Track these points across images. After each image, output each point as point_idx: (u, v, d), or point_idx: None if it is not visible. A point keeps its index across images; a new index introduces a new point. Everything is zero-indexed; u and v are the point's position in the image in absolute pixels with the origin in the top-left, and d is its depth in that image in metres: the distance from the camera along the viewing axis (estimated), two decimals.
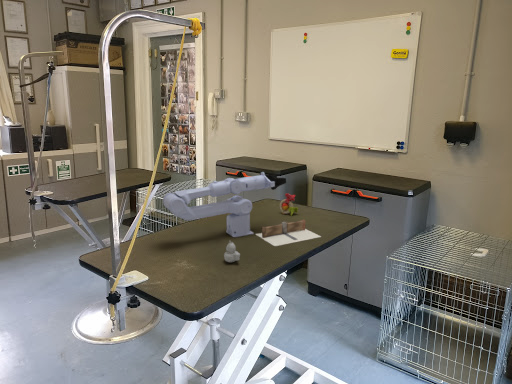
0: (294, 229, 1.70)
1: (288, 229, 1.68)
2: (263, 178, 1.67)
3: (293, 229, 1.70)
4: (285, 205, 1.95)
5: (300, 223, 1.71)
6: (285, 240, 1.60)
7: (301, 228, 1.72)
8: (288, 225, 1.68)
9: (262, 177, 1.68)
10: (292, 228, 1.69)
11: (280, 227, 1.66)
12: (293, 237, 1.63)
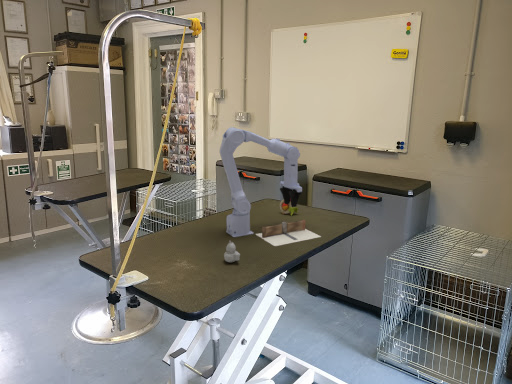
0: (294, 229, 1.70)
1: (288, 229, 1.68)
2: (297, 183, 1.70)
3: (293, 229, 1.70)
4: (285, 205, 1.95)
5: (300, 223, 1.71)
6: (285, 240, 1.60)
7: (301, 228, 1.72)
8: (288, 225, 1.68)
9: None
10: (292, 228, 1.69)
11: (280, 227, 1.66)
12: (293, 237, 1.63)
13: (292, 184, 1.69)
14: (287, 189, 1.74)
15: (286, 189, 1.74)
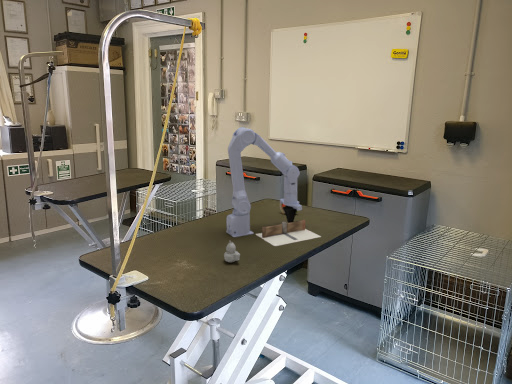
0: (294, 229, 1.70)
1: (288, 229, 1.68)
2: (296, 201, 1.72)
3: (293, 229, 1.70)
4: (285, 205, 1.95)
5: (300, 223, 1.71)
6: (285, 240, 1.60)
7: (301, 228, 1.72)
8: (288, 225, 1.68)
9: None
10: (292, 228, 1.69)
11: (280, 227, 1.66)
12: (293, 237, 1.63)
13: (292, 202, 1.71)
14: None
15: None
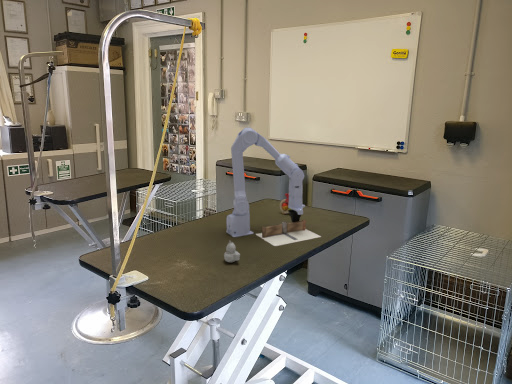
0: (294, 229, 1.70)
1: (288, 229, 1.68)
2: (301, 204, 1.68)
3: (293, 229, 1.70)
4: (285, 205, 1.95)
5: (300, 223, 1.70)
6: (285, 240, 1.60)
7: (301, 228, 1.71)
8: (288, 225, 1.68)
9: (301, 204, 1.69)
10: (292, 228, 1.69)
11: (280, 227, 1.66)
12: (293, 237, 1.63)
13: (295, 206, 1.67)
14: None
15: None
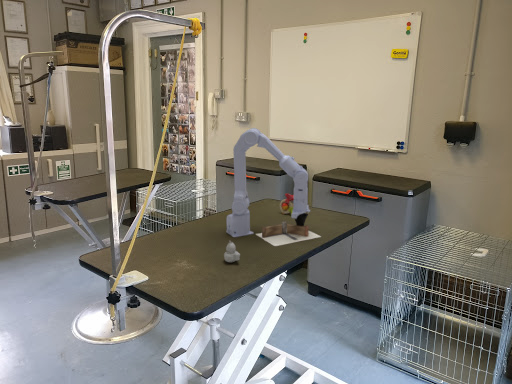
0: (295, 232, 1.66)
1: (288, 230, 1.67)
2: (302, 209, 1.62)
3: (293, 232, 1.66)
4: (285, 205, 1.95)
5: (301, 228, 1.64)
6: (285, 240, 1.60)
7: (303, 234, 1.65)
8: (288, 226, 1.66)
9: (304, 209, 1.62)
10: (292, 231, 1.66)
11: (280, 227, 1.66)
12: (293, 237, 1.63)
13: (296, 209, 1.62)
14: None
15: None
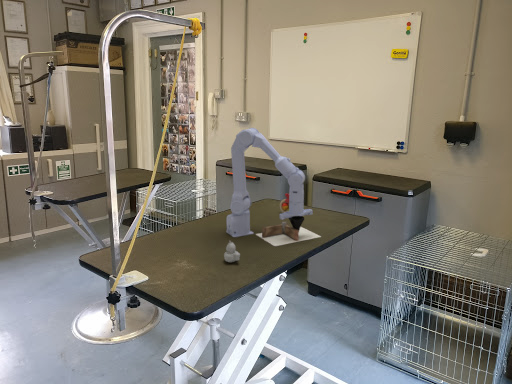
0: (289, 234, 1.64)
1: (285, 231, 1.66)
2: (294, 211, 1.58)
3: (288, 234, 1.64)
4: (285, 205, 1.95)
5: (293, 231, 1.61)
6: (285, 240, 1.60)
7: (293, 237, 1.61)
8: (285, 227, 1.66)
9: (295, 211, 1.58)
10: (288, 232, 1.64)
11: (280, 227, 1.66)
12: None
13: (289, 211, 1.60)
14: None
15: None
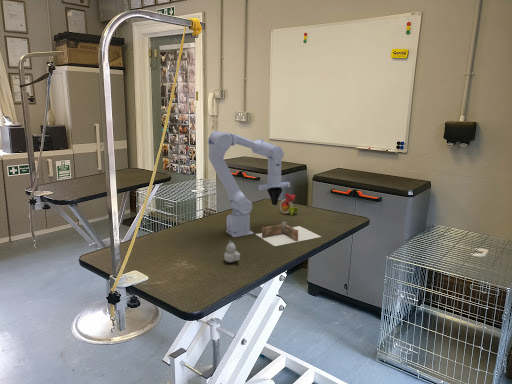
0: (289, 234, 1.63)
1: (285, 231, 1.66)
2: (272, 183, 1.70)
3: (288, 234, 1.64)
4: (285, 205, 1.95)
5: (292, 231, 1.61)
6: (285, 240, 1.60)
7: (293, 237, 1.61)
8: (285, 227, 1.66)
9: (273, 183, 1.70)
10: (287, 232, 1.64)
11: (280, 227, 1.66)
12: None
13: (268, 183, 1.72)
14: None
15: None
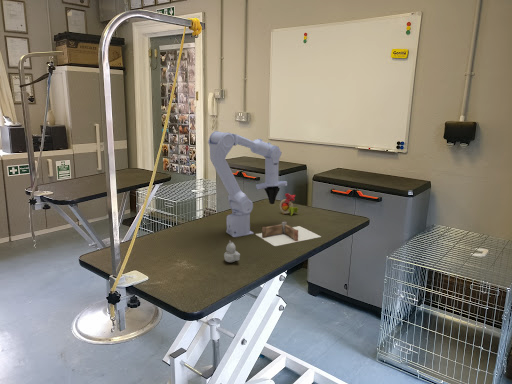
0: (289, 234, 1.63)
1: (285, 231, 1.66)
2: (269, 182, 1.72)
3: (288, 234, 1.64)
4: (285, 205, 1.95)
5: (292, 231, 1.61)
6: (285, 240, 1.60)
7: (293, 237, 1.61)
8: (285, 227, 1.66)
9: (270, 182, 1.72)
10: (287, 232, 1.64)
11: (280, 227, 1.66)
12: None
13: (265, 182, 1.74)
14: None
15: None
